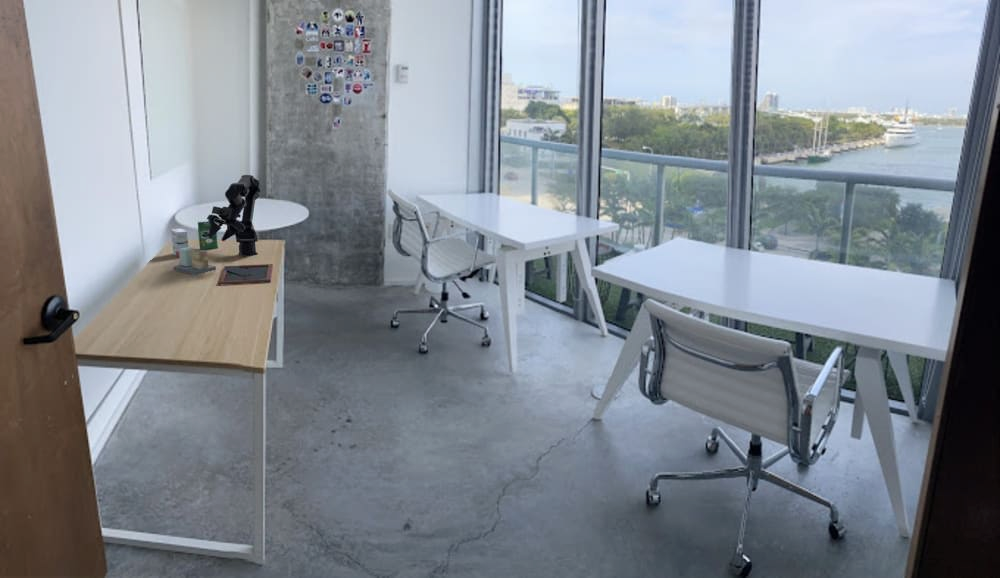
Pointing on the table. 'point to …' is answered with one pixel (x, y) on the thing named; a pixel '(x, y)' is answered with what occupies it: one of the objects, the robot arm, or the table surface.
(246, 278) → the picture frame
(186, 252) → the two-stud toy brick
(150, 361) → the table surface
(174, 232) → the ink box
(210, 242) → the coffee box
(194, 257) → the wooden button block
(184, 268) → the key base
